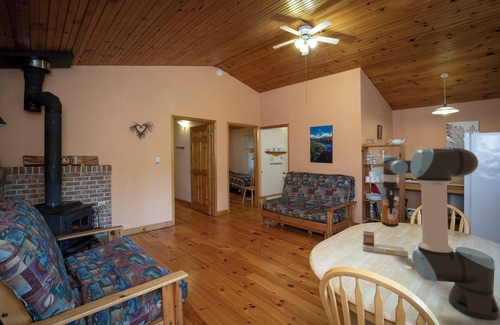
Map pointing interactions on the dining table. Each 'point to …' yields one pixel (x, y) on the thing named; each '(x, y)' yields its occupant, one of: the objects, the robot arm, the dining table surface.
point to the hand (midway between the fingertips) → (389, 216)
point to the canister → (385, 219)
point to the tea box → (368, 238)
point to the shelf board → (386, 249)
